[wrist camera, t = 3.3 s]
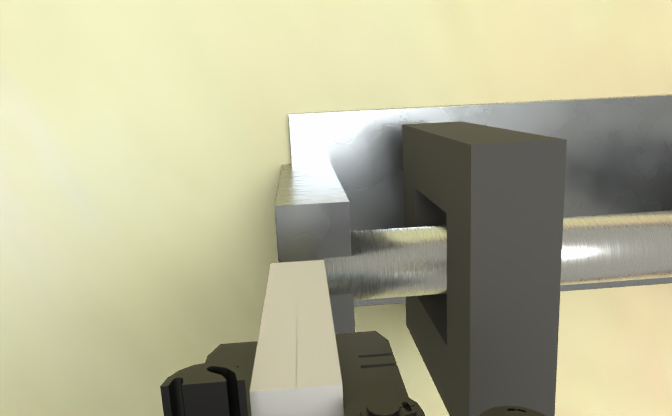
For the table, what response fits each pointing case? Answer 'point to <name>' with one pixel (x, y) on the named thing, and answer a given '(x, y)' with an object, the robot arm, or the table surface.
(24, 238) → the table surface
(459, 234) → the ring
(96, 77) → the table surface
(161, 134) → the table surface
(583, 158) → the pipe rig
